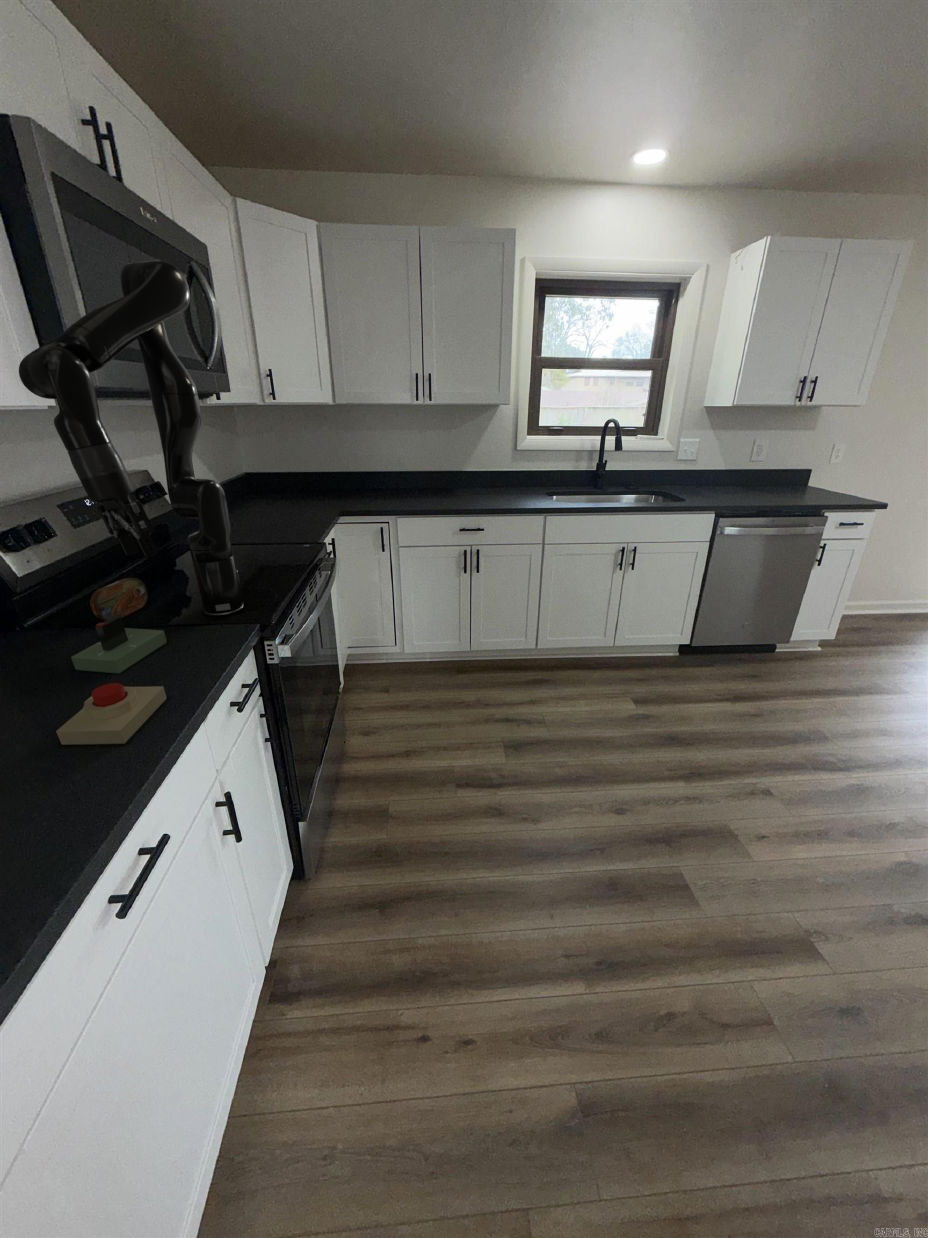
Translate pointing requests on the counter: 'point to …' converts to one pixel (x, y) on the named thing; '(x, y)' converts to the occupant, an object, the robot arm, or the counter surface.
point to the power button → (108, 694)
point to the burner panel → (120, 652)
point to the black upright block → (111, 633)
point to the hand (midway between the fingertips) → (142, 555)
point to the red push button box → (112, 718)
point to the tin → (119, 598)
